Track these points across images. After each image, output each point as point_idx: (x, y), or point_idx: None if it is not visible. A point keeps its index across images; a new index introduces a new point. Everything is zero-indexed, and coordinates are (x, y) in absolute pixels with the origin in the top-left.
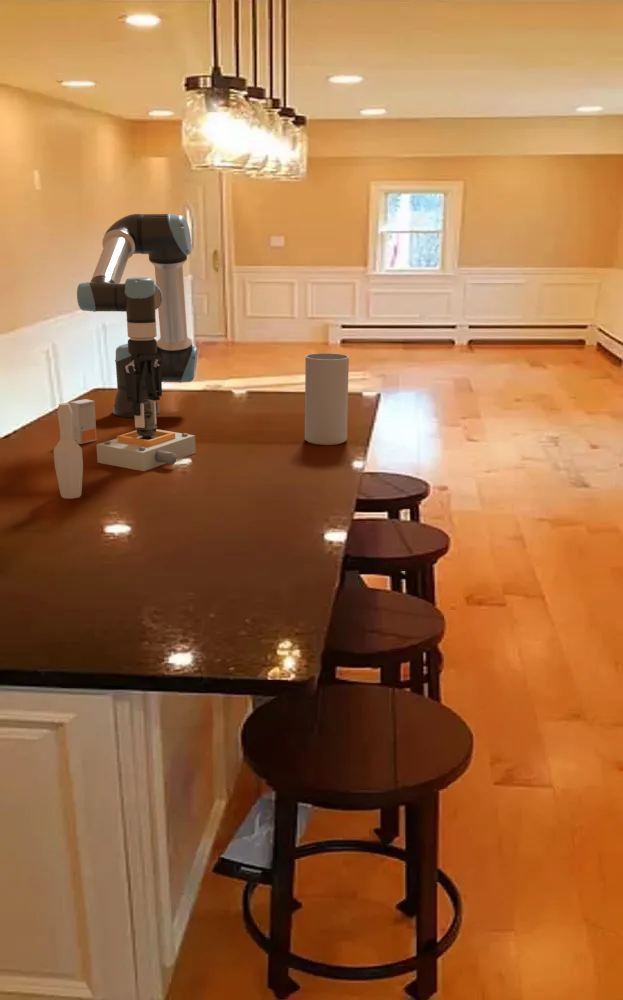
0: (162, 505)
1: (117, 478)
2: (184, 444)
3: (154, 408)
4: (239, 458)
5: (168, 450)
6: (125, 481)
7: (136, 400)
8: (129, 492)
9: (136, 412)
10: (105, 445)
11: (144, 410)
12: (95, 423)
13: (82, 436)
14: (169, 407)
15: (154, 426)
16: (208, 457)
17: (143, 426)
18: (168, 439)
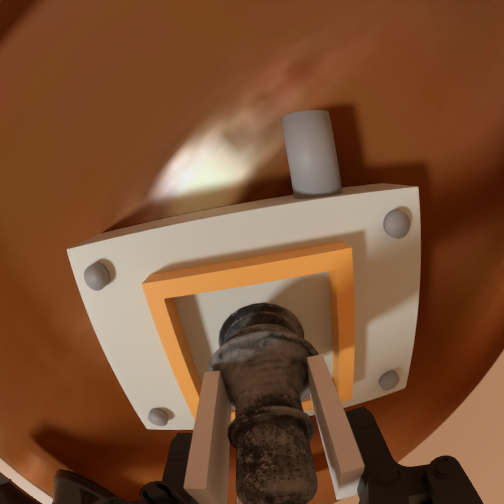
0: (466, 3)
1: (457, 193)
2: (137, 229)
3: (206, 443)
4: (64, 84)
5: (249, 206)
6: (460, 155)
7: (430, 474)
8: (485, 92)
9: (375, 425)
10: (406, 364)
11: (304, 440)
12: (238, 502)
13: None
14: (40, 467)
15: (238, 352)
16: (107, 153)
17: (319, 359)
18: (199, 267)
